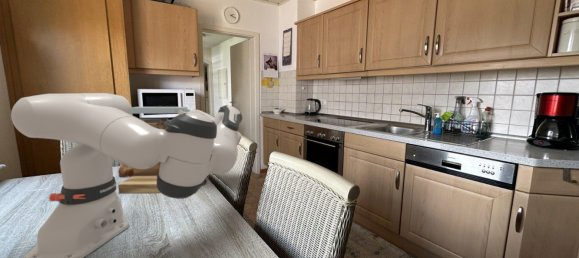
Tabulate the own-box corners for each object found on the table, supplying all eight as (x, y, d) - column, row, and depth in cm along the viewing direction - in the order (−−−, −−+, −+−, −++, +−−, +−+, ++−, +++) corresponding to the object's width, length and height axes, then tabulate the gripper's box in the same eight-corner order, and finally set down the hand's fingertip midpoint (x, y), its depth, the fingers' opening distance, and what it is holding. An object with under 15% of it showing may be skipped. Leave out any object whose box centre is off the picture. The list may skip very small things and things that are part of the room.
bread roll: (128, 178, 124) (118, 164, 122) (148, 168, 126) (139, 154, 124) (121, 185, 115) (111, 171, 112) (143, 174, 117) (133, 159, 115)
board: (181, 192, 98) (180, 184, 97) (119, 193, 97) (118, 184, 96) (190, 183, 108) (190, 175, 107) (133, 183, 107) (133, 175, 106)
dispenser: (162, 182, 108) (157, 119, 103) (134, 183, 107) (128, 120, 103) (173, 174, 119) (169, 117, 114) (148, 174, 118) (142, 117, 114)
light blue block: (184, 113, 107) (183, 107, 107) (132, 113, 106) (131, 107, 106) (187, 112, 111) (187, 106, 111) (137, 112, 110) (137, 106, 110)
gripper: (195, 134, 100) (163, 117, 99) (209, 127, 120) (183, 113, 119) (202, 121, 99) (171, 104, 98) (215, 116, 120) (189, 101, 118)
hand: (178, 108), depth 109 cm, fingers closed on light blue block, 4 cm apart
